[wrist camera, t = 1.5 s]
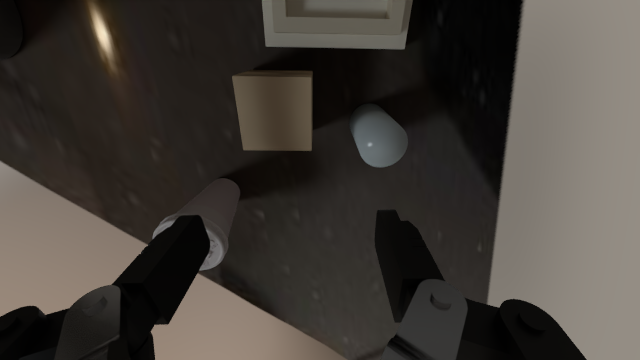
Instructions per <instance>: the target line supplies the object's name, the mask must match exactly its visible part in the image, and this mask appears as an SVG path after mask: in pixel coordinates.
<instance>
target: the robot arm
mask: <svg viewBox="0 0 640 360" xmlns="http://www.w3.org/2000/svg"><path fill="white" fill-rule="evenodd" d="M22 39H23V28H22V23H21V19H20V14H19V12H18V10H17V7H16V5H15V2H14V0H0V60H3V59H8V58H9V57H11V56H13V55H14V54H15V53H16V52H17V51H18V49H19V48H20V46H21V42H22ZM375 248H376V252H377V256H378V260H379V264H380V268H381V272H382V275H383V279H384V283H385V287H386V291H387V295H388V298H389V302H390V306H391V310H392V314H393V318H394V321H395V322H401V324H400V326H399V328H398V331H397V333H396V335H395V336H394V338H391V339H390V341H389V343H388V344H387V346H386V348H385V350H384V353H383V355H382V357H381V359H380V360H586V358H585V357H584V356H583V354H582V353H581V352H580V351H579V349H578V348H577V347H576V346H575V344H574V343H573V342H572V341H571V339H570V338H569V337H568V336H567V334H566V333H565V332H564V331H563V329H562V328H561V327H560V326H559V324H558V323H557V322H556V321H555V320H554V319H553V318H552V317H551V316H550V315H549V314H547V313H546V312H545V311H543V310H542V309H540V308H539V307H537V306H535V305H533V304H531V303H528V302H526V301H522V300H516V299H510V300H506V301H504V302H503V303H502V304H501V306H500V308H498V307H493V306H490V305H486V304H483V303H479V302H475V301H472V300H469V299H467V298H465V297H464V296H463V295H462V294H461V293H460V291H459V290H458V289H456V288H455V287H454V286H452V285H451V284H449V283H447V282H445V280H444V278H443V276H442V274H441V273H440V271H439V269H438V267H437V265H436V263H435V261H434V259H433V257H432V255H431V254H430V252H429V250H428V248H427V246H426V244H425V242H424V240H422V236H421V235H420V233H419V231H418V229H417V228H416V227H415V226H414V225H413V224H411V223H410V222H409V221H400V218H399V216H398V214H397V212H396V210H378V211H377V216H376V228H375ZM209 251H210V239H209V236H208V234H207V231H206V228H205V226H204V223H203V220H202V218H201V216H199V215H181V216H179V217H178V218H177V219H176V220H175V222H174V223H173V224H172V225H171V226H170V227H168V228H166V229H165V230H163V231H162V232H160V233H159V234H157V235H156V236H155V237H154V239H153V240H152V241H151V242H150V243H149V244H148V246H146V247H145V248H144V250H143V251H142V252H141V254H139V255H138V256H137V257H136V258H135V260H134V261H133V262H132V263H131V264H130V265H129V266H128V267H127V268H126V269H125V271H124V272H123V273H122V274H121V275H120V276H119V277H118V278H117V280H116V281H115V282H114V283H113V284H112V285H108V286H103V287H100V288H97V289H95V290H93V291H91V292H89V293H87V294H85V295H84V296H82V297H81V298H80V299H79V300H77V301H76V302H75V303H74V304H73V305H72V306H71V307H70V308H69V309H65V310H62V311H58V312H54V313H51V314H47V315H45V314H44V313H43V312H42V311H41V310H39V308H37V307H36V306H26V307H21V308H18V309H16V310H13V311H11V312H9V313H7V314H5V315H3V316H1V317H0V360H155V355H154V344H153V336H152V334H151V330H152V328H153V327H154V325H159V324H169V322H170V320H171V319H172V317H173V315H174V313H175V311H176V310H177V308H178V306H179V305H180V303H181V301H182V299H183V298H184V296H185V294H186V292H187V291H188V289H189V287H190V285H191V283H192V282H193V280H194V278H195V276H196V275H197V273H198V271H199V269H200V268H201V266H202V264H203V262H204V261H205V259H206V257H207V255H208V253H209Z"/></svg>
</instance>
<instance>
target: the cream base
mask: <svg viewBox="0 0 640 360" xmlns="http://www.w3.org/2000/svg"><path fill="white" fill-rule="evenodd" d="M412 2H413V0H262V6H263V18H264V30H265V42H266V47H313V48H363V49H405V43H406V37H407V31H408V25H409V19H410V13H411V7H412Z"/></svg>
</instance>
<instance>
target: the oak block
mask: <svg viewBox="0 0 640 360" xmlns="http://www.w3.org/2000/svg"><path fill="white" fill-rule="evenodd" d="M232 79H233V85H234V92H235V98H236V105H237V111H238V118H239V124H240V131H241V137H242V144H243V150H281V151H312V133H313V71H292V70H249V71H246V72H243V73H240V74H237V75H234V76H232Z"/></svg>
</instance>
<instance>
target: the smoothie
mask: <svg viewBox="0 0 640 360" xmlns="http://www.w3.org/2000/svg"><path fill="white" fill-rule="evenodd" d="M239 197H240V189H239V187H238V185H237V184H236V183H235V182H233V181H232V180H229V179H226V178H219V179H216V180H215V181H213V182H212V183H211V184H210V185H209V186H208V187H206V188H205V189H204V190H203V191H202V192H201V193H199V194H198V195H197V196H196V197H195V198H194V199H192V200H191V201H190V202H189V203H188V204H187V205H185V206H184V207H183V208H182V209H181V210H179V211H178V212H177V213H176V214H174V215H171V216H169V217H166V218H165V219H164V220H163V221H162V222H161V223H160V225H159V226H158V227H157V228H156V230H155V231H154V234H153V239H154V237H155V236H156V235H157V234H159V233H160V232H162V231H163V230H165V229H166V228H168V227H170V226H171V225H172V224H173V223H174V222H175V220H176V219H177V218H178V217H179V216H181V215H199V216H201V218H202V220H203V223H204V226H205V228H206V231H207V234H208V236H209V239H210V251H209V253H208V255H207V257H206V259H205V261H204V262H203V264H202V266H201V268H200V269H199V270H207V269H210V268H213V267H215V266H216V265H218V264H219V263H220V262H221V261H222V259H223V257H224V255H225V254H226V253H227V249H228V239H227V238H228V235H229V231H230V228H231V224H232V221H233V218H234V214H235V211H236V207H237V204H238V200H239Z"/></svg>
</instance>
